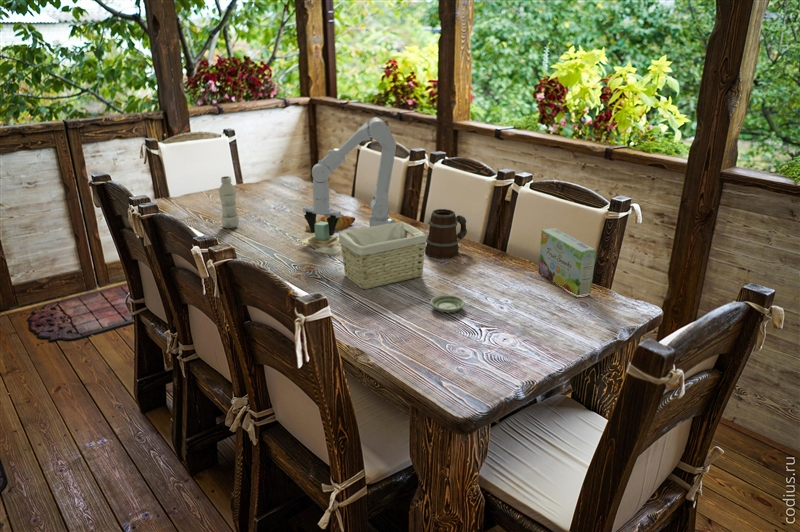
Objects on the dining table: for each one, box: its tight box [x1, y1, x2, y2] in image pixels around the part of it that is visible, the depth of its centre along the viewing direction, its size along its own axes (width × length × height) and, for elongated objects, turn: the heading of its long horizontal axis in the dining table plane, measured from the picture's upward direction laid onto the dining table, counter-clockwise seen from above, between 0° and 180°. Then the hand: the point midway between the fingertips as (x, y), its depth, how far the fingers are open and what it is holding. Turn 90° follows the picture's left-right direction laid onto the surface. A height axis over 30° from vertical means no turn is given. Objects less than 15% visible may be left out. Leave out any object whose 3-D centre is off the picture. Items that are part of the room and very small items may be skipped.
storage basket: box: [338, 221, 427, 290], centre depth 189 cm, size 24×16×15 cm
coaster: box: [314, 245, 342, 256], centre depth 213 cm, size 8×8×1 cm
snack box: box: [538, 227, 597, 295], centre depth 184 cm, size 21×6×15 cm, turn 21°
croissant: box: [304, 214, 356, 232], centre depth 235 cm, size 21×10×8 cm, turn 122°
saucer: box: [430, 294, 466, 313], centre depth 170 cm, size 10×10×2 cm
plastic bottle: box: [218, 176, 240, 229], centre depth 232 cm, size 6×7×20 cm
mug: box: [424, 208, 468, 260], centre depth 210 cm, size 16×12×15 cm
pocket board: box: [298, 233, 340, 248], centre depth 221 cm, size 14×11×2 cm
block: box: [314, 221, 331, 241], centre depth 220 cm, size 4×4×6 cm
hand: (322, 233), depth 220 cm, fingers open, 7 cm apart
